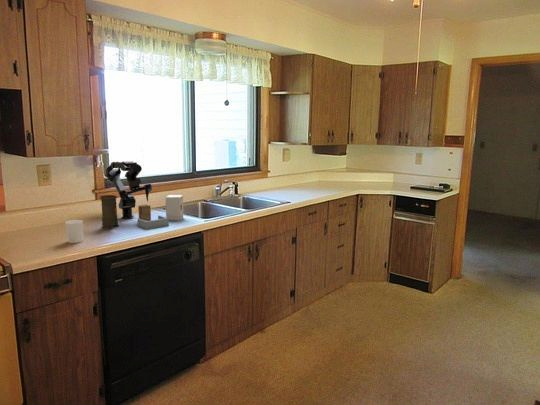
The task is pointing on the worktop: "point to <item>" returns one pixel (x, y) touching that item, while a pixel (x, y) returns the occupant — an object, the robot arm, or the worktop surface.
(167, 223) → the open box
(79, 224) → the white cup
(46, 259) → the worktop surface
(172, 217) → the supplement box
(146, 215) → the walnut block
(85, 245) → the worktop surface
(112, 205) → the container
